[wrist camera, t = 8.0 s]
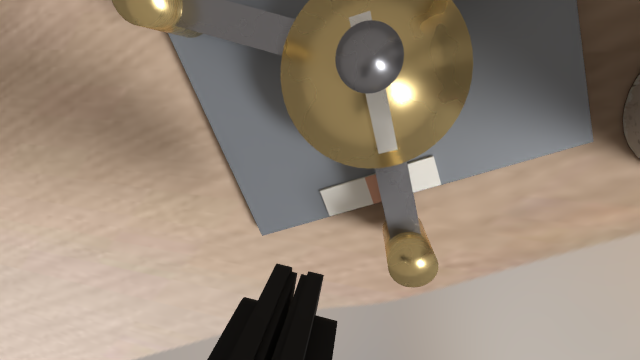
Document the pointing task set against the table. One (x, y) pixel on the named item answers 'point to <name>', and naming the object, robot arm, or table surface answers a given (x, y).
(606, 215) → the table surface
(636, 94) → the thermos bottle
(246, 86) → the board
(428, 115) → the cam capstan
